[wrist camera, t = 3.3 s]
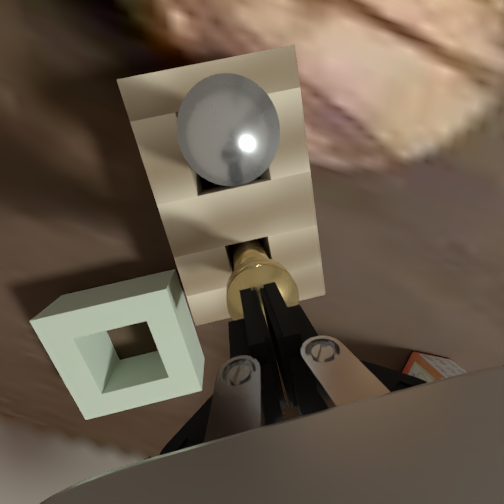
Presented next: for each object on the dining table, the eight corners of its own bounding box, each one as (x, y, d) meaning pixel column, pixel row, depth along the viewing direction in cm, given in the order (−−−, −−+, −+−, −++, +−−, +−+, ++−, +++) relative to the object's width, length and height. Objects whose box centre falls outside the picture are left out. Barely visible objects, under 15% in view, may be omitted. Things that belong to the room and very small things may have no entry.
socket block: (142, 102, 19) (116, 79, 14) (276, 75, 19) (294, 44, 14) (201, 294, 24) (195, 325, 19) (305, 270, 24) (325, 294, 20)
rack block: (61, 295, 22) (29, 320, 19) (175, 268, 23) (166, 288, 19) (105, 382, 26) (85, 420, 22) (204, 358, 26) (201, 390, 22)
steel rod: (196, 133, 20) (162, 84, 8) (242, 123, 20) (270, 63, 8) (208, 181, 21) (192, 195, 9) (251, 171, 21) (287, 174, 10)
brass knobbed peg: (219, 235, 19) (218, 276, 12) (266, 225, 19) (293, 258, 12) (230, 278, 20) (235, 339, 13) (274, 268, 21) (303, 322, 13)
